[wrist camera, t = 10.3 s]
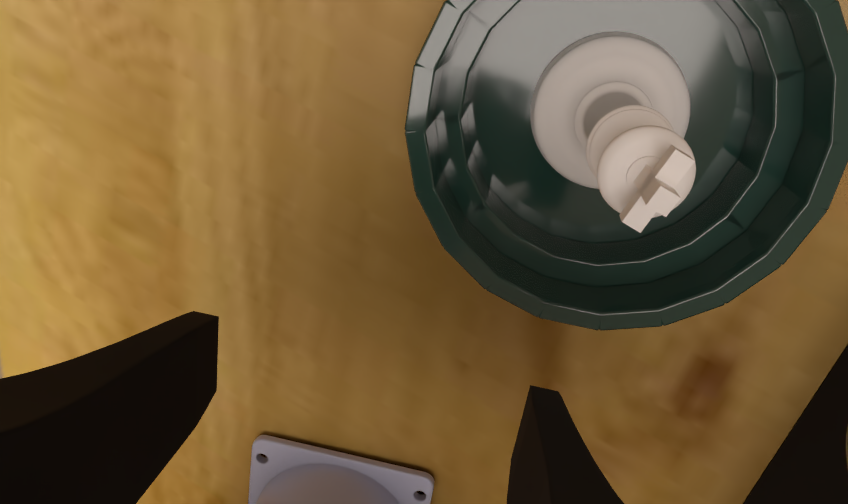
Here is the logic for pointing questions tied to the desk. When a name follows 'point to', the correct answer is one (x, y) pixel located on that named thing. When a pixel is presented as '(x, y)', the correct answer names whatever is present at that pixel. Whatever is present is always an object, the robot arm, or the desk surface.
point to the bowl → (585, 207)
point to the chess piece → (617, 123)
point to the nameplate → (813, 451)
